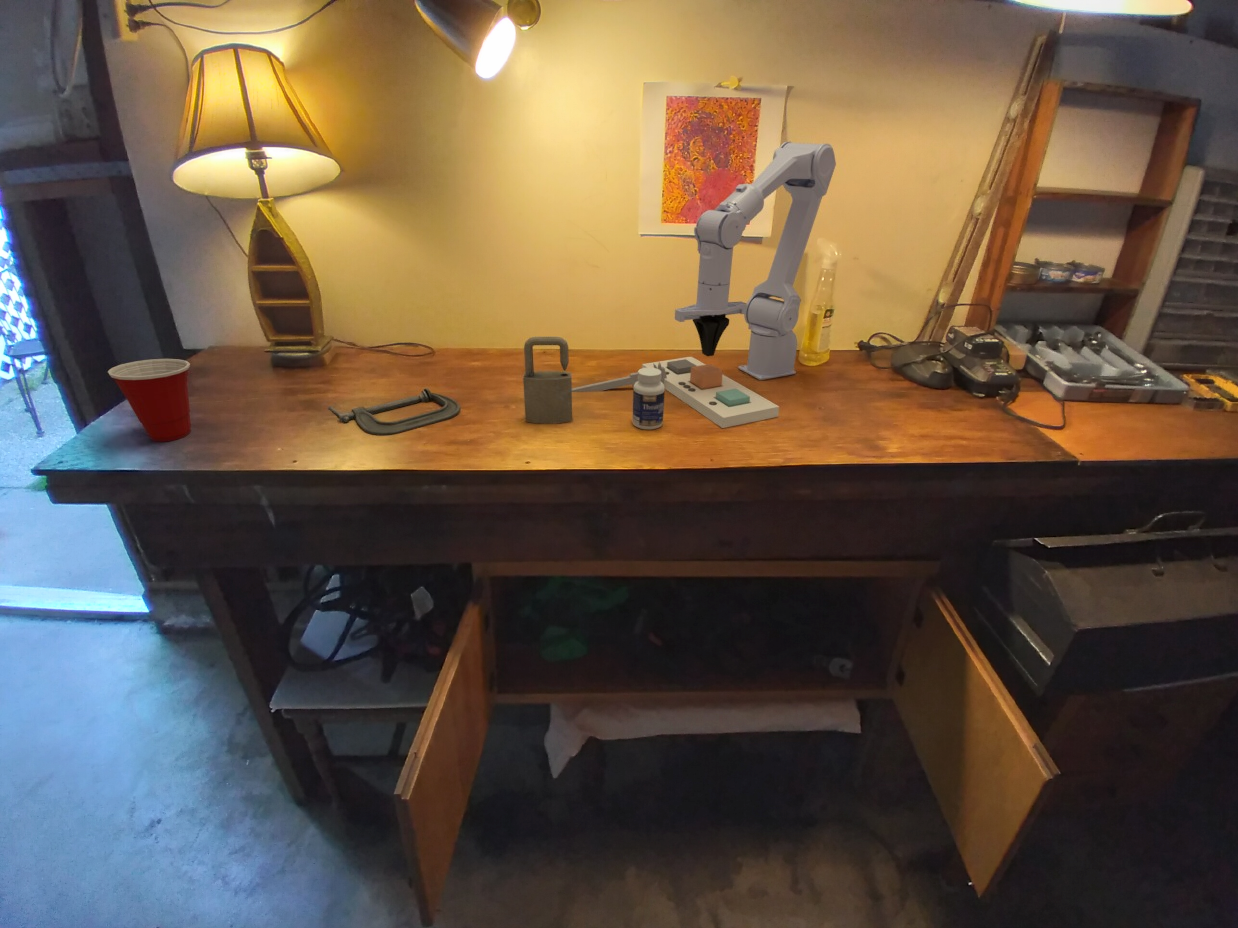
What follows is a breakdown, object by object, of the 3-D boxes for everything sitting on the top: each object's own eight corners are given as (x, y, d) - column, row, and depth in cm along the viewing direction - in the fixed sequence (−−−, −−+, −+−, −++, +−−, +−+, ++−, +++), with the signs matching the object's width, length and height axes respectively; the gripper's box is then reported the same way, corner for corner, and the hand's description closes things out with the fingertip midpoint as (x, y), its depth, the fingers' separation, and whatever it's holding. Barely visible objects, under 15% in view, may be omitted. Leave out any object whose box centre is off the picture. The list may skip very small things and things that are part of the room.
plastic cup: (224, 424, 113) (204, 357, 107) (172, 452, 103) (147, 380, 98) (172, 417, 115) (150, 351, 109) (116, 443, 106) (89, 373, 100)
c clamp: (354, 447, 107) (351, 431, 106) (328, 411, 120) (325, 397, 118) (470, 419, 117) (469, 405, 116) (435, 389, 130) (434, 376, 129)
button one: (734, 403, 124) (735, 388, 122) (748, 411, 120) (750, 396, 119) (714, 407, 122) (716, 392, 121) (728, 415, 119) (729, 400, 117)
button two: (684, 372, 138) (685, 359, 137) (695, 379, 135) (696, 365, 133) (666, 375, 136) (667, 362, 135) (677, 382, 133) (678, 368, 131)
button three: (708, 378, 130) (710, 364, 129) (721, 385, 127) (722, 371, 125) (689, 381, 128) (690, 367, 127) (702, 389, 125) (703, 374, 124)
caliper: (665, 391, 132) (666, 361, 129) (666, 393, 131) (667, 363, 128) (563, 395, 129) (562, 365, 126) (564, 398, 128) (563, 367, 125)
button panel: (690, 365, 143) (691, 355, 142) (777, 416, 119) (779, 405, 118) (641, 373, 138) (642, 363, 137) (722, 428, 114) (723, 417, 113)
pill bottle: (641, 432, 112) (643, 379, 108) (626, 421, 116) (628, 368, 112) (668, 427, 114) (671, 374, 110) (653, 415, 119) (655, 364, 114)
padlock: (572, 423, 115) (570, 340, 108) (525, 424, 115) (520, 340, 108) (572, 414, 119) (570, 333, 112) (526, 414, 118) (522, 333, 111)
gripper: (734, 274, 124) (727, 343, 131) (667, 280, 119) (664, 353, 125) (757, 282, 119) (748, 354, 125) (688, 289, 113) (683, 364, 119)
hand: (707, 354), depth 125 cm, fingers closed
